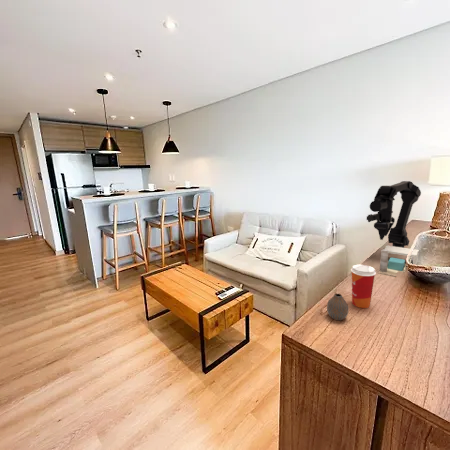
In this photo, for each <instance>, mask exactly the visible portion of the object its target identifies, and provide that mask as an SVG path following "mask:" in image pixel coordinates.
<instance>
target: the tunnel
mask: <svg viewBox="0 0 450 450" xmlns="http://www.w3.org/2000/svg"><path fill="white" fill-rule="evenodd" d="M384 249H385V250H389V254H393V255H400V256H405V257H408V256H407V255H408V253H409V251H410V249H411V248H407V247H404V248H402V247H394V246H392V245H386V246H385V247H384ZM419 253H420V251H419V249H414V250H413V252H412V254H411V256H410V257H412V258H413V261H412V265H413V264H416V265H418V261H419V260H418V259H419Z"/></svg>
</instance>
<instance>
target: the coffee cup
mask: <svg viewBox="0 0 450 450" xmlns="http://www.w3.org/2000/svg"><path fill="white" fill-rule="evenodd" d="M350 272H351V304H352V305H353V306H355V307H356V308H359V309H368V308H370V307H371V301H372V295H373V288H374V282H375V275H376V274H377V272H376V269H375V268H374V267H372V266H370V265H365V264H360V263H359V264H353V265H352V268H350Z"/></svg>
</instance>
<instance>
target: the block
mask: <svg viewBox="0 0 450 450" xmlns="http://www.w3.org/2000/svg"><path fill="white" fill-rule="evenodd" d="M405 264H406V259H402V258H396V257H390V258H388V269H393V270H398V272H400V271H403V269H404V266H405Z"/></svg>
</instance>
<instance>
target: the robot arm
mask: <svg viewBox="0 0 450 450" xmlns="http://www.w3.org/2000/svg"><path fill="white" fill-rule="evenodd" d="M398 193H400V195H401V196H400V198H401V201H402V204H401V207H400V210H399V214H398V217H397V221H395V217H393V216H392V215H393V213H394V211H393V206H394V205H393V204H394V201H395V200H396V198H394V197H395V196H397V195H398ZM421 195H422V192H421V189H420V187H419V186H417V185H416V184H414V182H413V181H411V180H404V181H403V180H402V181H400V182H398V183H397V182H396V183H394V184H391V185H380V186H379V188H378V189H377V192H376V193H375V196H374V198H373V200H372V201H371V202H370V203H369V208H370V211H372V212H375V213H374V214H372V213H371V214H367V216H366V221H367V222H368V223H370V222H373V221H376V222H375V223H373V228H374V229H376V231H377V232H378V235H379V239H380V240H381V241H383V240H384V238H385V237H387V239H388V243H390V244H391V246H394V247H402V248H405V247H408V246H409V244H410V239H409V237H408V232H407V225H408V221H409V218H410V215H411V212H412V208H413V205H414V204H416V202H418V200H419V199H420V197H421ZM395 222H396V224H395V226H394V223H395ZM393 226H394V227H393Z"/></svg>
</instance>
